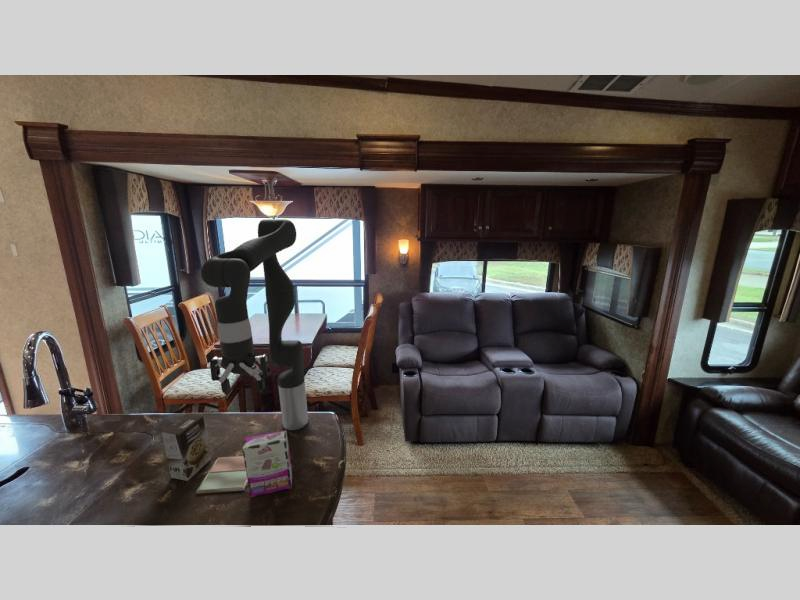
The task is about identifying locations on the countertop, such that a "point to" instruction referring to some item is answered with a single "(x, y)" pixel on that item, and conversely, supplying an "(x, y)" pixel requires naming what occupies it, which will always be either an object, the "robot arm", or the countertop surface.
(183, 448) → the coffee box
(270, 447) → the candy bar box
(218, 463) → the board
